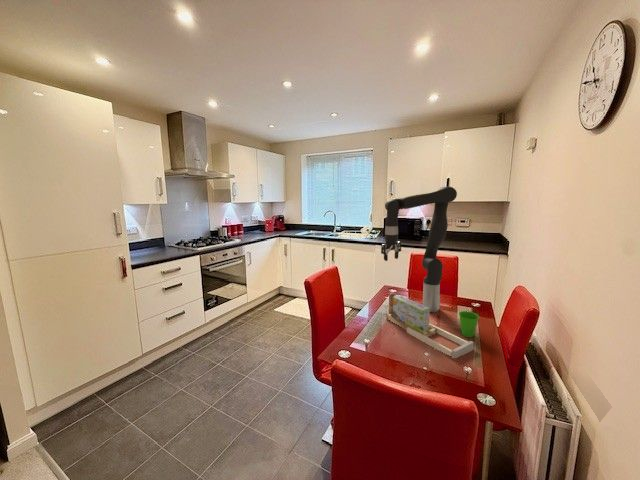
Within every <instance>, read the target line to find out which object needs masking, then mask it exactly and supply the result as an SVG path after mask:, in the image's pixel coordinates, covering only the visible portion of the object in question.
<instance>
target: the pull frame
mask: <svg viewBox="0 0 640 480" xmlns="http://www.w3.org/2000/svg"><path fill="white" fill-rule="evenodd" d="M395 294H396V293H394V292H389V294H388V314H386V320H387V319H388V320H387V321H389V320H390V321H389V322H390V323H392V322H393V324H394V323H395V324H394V325H396V324H397V325H396V326H398V325H399V326H398V327H400V328H401V327H402V329H404V330H406V331H407V327H409V328H411V329H413V330H415V331H417V332H419V333H420V334H422V335H424V336H426V337H428V338H429V337H431V336H433V335H436V334H437V333H436V332H437V329H436V328H434V327H432V326H430V325H429V330H428V331H426V332H423V333H422V332H420V331H418V330H416V329H414V328H412V327H410V326H409V325H407V324H405V323H403V322H401V321H399V320H397V319H395V318H393V297H394V296H396V295H395Z"/></svg>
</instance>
